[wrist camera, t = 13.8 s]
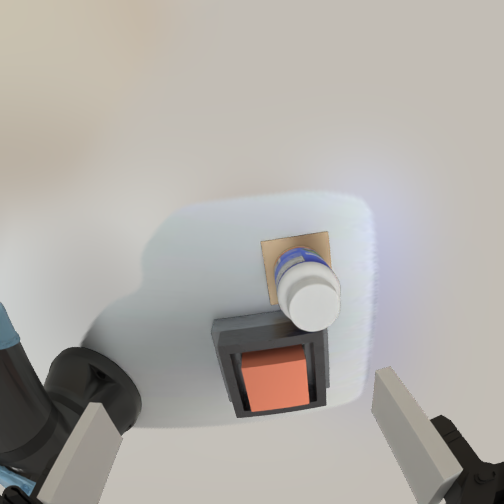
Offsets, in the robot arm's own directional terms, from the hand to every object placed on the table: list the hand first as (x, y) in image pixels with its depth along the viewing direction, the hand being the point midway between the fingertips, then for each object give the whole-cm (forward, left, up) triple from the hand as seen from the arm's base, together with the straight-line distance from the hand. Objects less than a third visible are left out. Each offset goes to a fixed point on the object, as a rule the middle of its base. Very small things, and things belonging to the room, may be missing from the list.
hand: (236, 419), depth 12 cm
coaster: (+6, 0, -20) cm, 21 cm away
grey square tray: (+2, -9, -20) cm, 22 cm away
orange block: (+2, -9, -18) cm, 20 cm away
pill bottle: (+6, 0, -20) cm, 21 cm away
